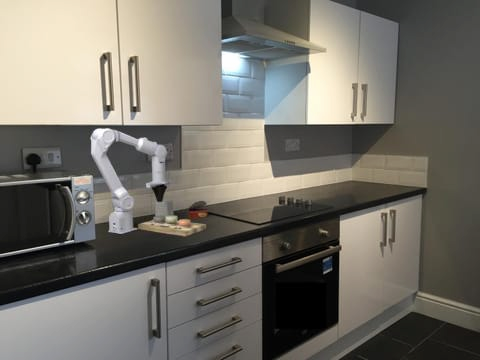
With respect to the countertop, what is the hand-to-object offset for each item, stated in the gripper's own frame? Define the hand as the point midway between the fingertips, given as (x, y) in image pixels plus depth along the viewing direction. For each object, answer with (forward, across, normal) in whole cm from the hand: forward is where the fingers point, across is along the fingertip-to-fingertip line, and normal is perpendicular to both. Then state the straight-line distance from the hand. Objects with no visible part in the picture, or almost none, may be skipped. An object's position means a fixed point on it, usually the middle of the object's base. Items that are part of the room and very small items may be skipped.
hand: (159, 201), depth 190 cm
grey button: (+8, -4, -3) cm, 9 cm away
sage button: (+7, -4, -10) cm, 13 cm away
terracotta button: (+8, -4, -17) cm, 19 cm away
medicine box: (+11, +12, +8) cm, 18 cm away
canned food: (+11, +23, -4) cm, 26 cm away
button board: (+10, -4, -10) cm, 15 cm away
